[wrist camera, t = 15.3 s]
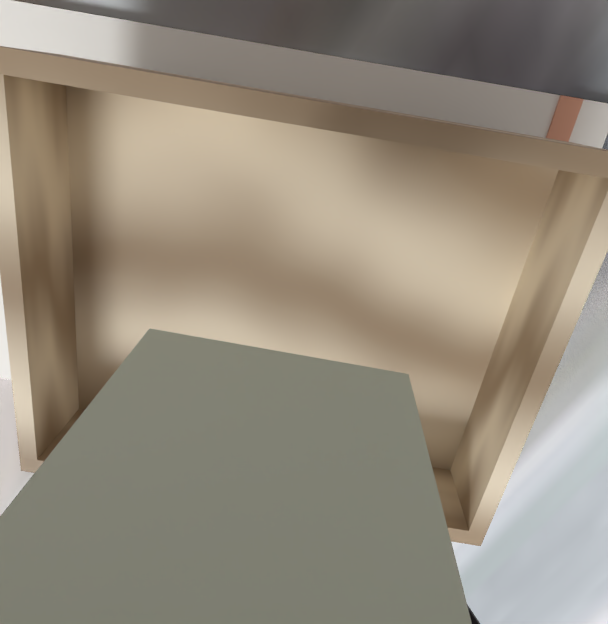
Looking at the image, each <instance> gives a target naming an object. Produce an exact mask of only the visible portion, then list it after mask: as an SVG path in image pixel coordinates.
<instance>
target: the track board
mask: <svg viewBox="0 0 608 624" xmlns="http://www.w3.org/2000/svg"><path fill="white" fill-rule="evenodd" d="M0 46H5V47H12V48H19V49H26V50H33V51H40V52H47V53H54V54H61V55H67V56H73V57H79V58H85V59H91V60H96V61H102V62H108V63H114V64H120V65H125V66H131V67H137V68H143V69H149V70H154V71H160V72H166V73H172V74H178V75H183V76H189V77H195V78H201V79H207V80H212V81H218V82H224V83H230V84H236V85H241V86H247V87H253V88H259V89H265V90H270V91H276V92H282V93H288V94H294V95H299V96H305V97H311V98H317V99H323V100H328V101H334V102H340V103H346V104H352V105H357V106H363V107H369V108H375V109H381V110H387V111H392V112H398V113H404V114H410V115H416V116H421V117H427V118H433V119H439V120H445V121H450V122H456V123H462V124H468V125H474V126H479V127H485V128H491V129H497V130H503V131H508V132H514V133H520V134H526V135H532V136H537V137H543V138H549V139H555V140H561V141H566V142H572V143H577V144H582V145H587V146H592V147H596V148H601V149H602V147H603V144H604V142H605V139H606V137H607V134H608V103H602V102H596V101H591V100H585V99H580V98H575V97H569V96H563V95H556V94H550V93H545V92H539V91H533V90H527V89H521V88H516V87H510V86H504V85H498V84H493V83H487V82H481V81H475V80H469V79H464V78H458V77H452V76H446V75H441V74H435V73H429V72H423V71H417V70H412V69H406V68H400V67H394V66H389V65H383V64H377V63H371V62H366V61H360V60H354V59H348V58H342V57H337V56H331V55H325V54H319V53H314V52H308V51H302V50H296V49H290V48H285V47H279V46H273V45H267V44H262V43H256V42H250V41H244V40H238V39H233V38H227V37H221V36H215V35H210V34H204V33H198V32H192V31H187V30H181V29H175V28H169V27H163V26H158V25H152V24H146V23H140V22H135V21H129V20H123V19H117V18H111V17H106V16H100V15H94V14H88V13H83V12H77V11H71V10H65V9H59V8H54V7H48V6H42V5H36V4H31V3H25V2H19V1H13V0H0ZM0 378H2V379H8V380H11V371H10V361H9V352H8V342H7V333H6V324H5V314H4V305H3V295H2V286H1V276H0Z"/></svg>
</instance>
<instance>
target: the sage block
mask: <svg viewBox="0 0 608 624" xmlns="http://www.w3.org/2000/svg"><path fill="white" fill-rule="evenodd" d="M0 624H472V622H471V618H470V614H469V610H468V607H467V603H466V599H465V595H464V591H463V587H462V583H461V579H460V575H459V571H458V567H457V563H456V559H455V555H454V551H453V547H452V543H451V540H450V536H449V532H448V528H447V524H446V520H445V516H444V512H443V508H442V504H441V500H440V496H439V492H438V488H437V484H436V480H435V476H434V473H433V469H432V465H431V461H430V457H429V453H428V449H427V445H426V441H425V437H424V433H423V429H422V425H421V421H420V417H419V413H418V409H417V406H416V402H415V398H414V394H413V390H412V386H411V382H410V378H409V374H406V373H400V372H394V371H389V370H383V369H377V368H372V367H366V366H360V365H355V364H349V363H343V362H338V361H332V360H326V359H320V358H315V357H309V356H303V355H298V354H292V353H286V352H281V351H275V350H269V349H264V348H258V347H252V346H247V345H241V344H235V343H230V342H224V341H218V340H213V339H207V338H201V337H196V336H190V335H184V334H178V333H173V332H167V331H161V330H156V329H150V328H149V330H148V331H147V332H146V333H145V335H144V336H143V337H142V339H141V340H140V341H139V342H138V344H137V345H136V346H135V347H134V349H133V350H132V351H131V352H130V354H129V355H128V356H127V357H126V359H125V360H124V361H123V362H122V364H121V365H120V366H119V368H118V369H117V370H116V371H115V373H114V374H113V375H112V376H111V378H110V379H109V380H108V381H107V383H106V384H105V385H104V386H103V388H102V389H101V390H100V391H99V393H98V394H97V395H96V397H95V398H94V399H93V400H92V402H91V403H90V404H89V405H88V407H87V408H86V409H85V410H84V412H83V413H82V414H81V415H80V417H79V418H78V419H77V420H76V422H75V423H74V424H73V425H72V427H71V428H70V429H69V431H68V432H67V433H66V434H65V436H64V437H63V438H62V439H61V441H60V442H59V443H58V444H57V446H56V447H55V448H54V449H53V451H52V452H51V453H50V454H49V456H48V457H47V458H46V460H45V461H44V462H43V463H42V465H41V466H40V467H39V468H38V470H37V471H36V472H35V473H34V475H33V476H32V477H31V478H30V480H29V481H28V482H27V483H26V485H25V486H24V487H23V489H22V490H21V491H20V492H19V494H18V495H17V496H16V497H15V499H14V500H13V501H12V502H11V504H10V505H9V506H8V507H7V509H6V510H5V511H4V512H3V514H2V515H1V516H0Z"/></svg>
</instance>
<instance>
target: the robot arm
mask: <svg viewBox="0 0 608 624" xmlns="http://www.w3.org/2000/svg"><path fill="white" fill-rule="evenodd" d="M467 607H468V610H469V614H470V618H471V622H472V624H480V623H479V621H478V620H477V618H476V617H475V615H474V614H473V612H472V611H471V609H470V608H469V606H468V605H467Z"/></svg>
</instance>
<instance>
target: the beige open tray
mask: <svg viewBox="0 0 608 624" xmlns="http://www.w3.org/2000/svg"><path fill="white" fill-rule="evenodd" d="M607 251H608V150H606V149H601V148H596V147H592V146H587V145H582V144H577V143H572V142H566V141H561V140H555V139H549V138H543V137H537V136H532V135H526V134H520V133H514V132H508V131H503V130H497V129H491V128H485V127H479V126H474V125H468V124H462V123H456V122H450V121H445V120H439V119H433V118H427V117H421V116H416V115H410V114H404V113H398V112H392V111H387V110H381V109H375V108H369V107H363V106H357V105H352V104H346V103H340V102H334V101H328V100H323V99H317V98H311V97H305V96H299V95H294V94H288V93H282V92H276V91H270V90H265V89H259V88H253V87H247V86H241V85H236V84H230V83H224V82H218V81H212V80H207V79H201V78H195V77H189V76H183V75H178V74H172V73H166V72H160V71H154V70H149V69H143V68H137V67H131V66H125V65H120V64H114V63H108V62H102V61H96V60H91V59H85V58H79V57H73V56H67V55H61V54H54V53H47V52H40V51H33V50H26V49H19V48H12V47H5V46H0V276H1V286H2V295H3V305H4V314H5V324H6V333H7V342H8V352H9V361H10V371H11V380H12V390H13V399H14V409H15V418H16V427H17V437H18V446H19V456H20V465H21V471H27V472H33V473H35V472H36V471H37V470H38V468H39V467H40V466H41V465H42V463H43V462H44V461H45V460H46V458H47V457H48V456H49V454H50V453H51V452H52V451H53V449H54V448H55V447H56V446H57V444H58V443H59V442H60V441H61V439H62V438H63V437H64V436H65V434H66V433H67V432H68V431H69V429H70V428H71V427H72V425H73V424H74V423H75V422H76V420H77V419H78V418H79V417H80V415H81V414H82V413H83V412H84V410H85V409H86V408H87V407H88V405H89V404H90V403H91V402H92V400H93V399H94V398H95V397H96V395H97V394H98V393H99V391H100V390H101V389H102V388H103V386H104V385H105V384H106V383H107V381H108V380H109V379H110V378H111V376H112V375H113V374H114V373H115V371H116V370H117V369H118V368H119V366H120V365H121V364H122V362H123V361H124V360H125V359H126V357H127V356H128V355H129V354H130V352H131V351H132V350H133V349H134V347H135V346H136V345H137V344H138V342H139V341H140V340H141V339H142V337H143V336H144V335H145V333H146V332H147V331H148V330H149V328H150V329H156V330H161V331H167V332H173V333H178V334H184V335H190V336H196V337H201V338H207V339H213V340H218V341H224V342H230V343H235V344H241V345H247V346H252V347H258V348H264V349H269V350H275V351H281V352H286V353H292V354H298V355H303V356H309V357H315V358H320V359H326V360H332V361H338V362H343V363H349V364H355V365H360V366H366V367H372V368H377V369H383V370H389V371H394V372H400V373H406V374H409V378H410V382H411V386H412V390H413V394H414V398H415V402H416V406H417V409H418V413H419V417H420V421H421V425H422V429H423V433H424V437H425V441H426V445H427V449H428V453H429V457H430V461H431V465H432V469H433V473H434V476H435V480H436V484H437V488H438V492H439V496H440V500H441V504H442V508H443V512H444V516H445V520H446V524H447V528H448V532H449V536H450V540H451V541H453V542H459V543H465V544H471V545H477V546H481V544H482V542H483V539H484V537H485V535H486V532H487V530H488V528H489V525H490V523H491V521H492V518H493V516H494V514H495V512H496V509H497V507H498V505H499V502H500V500H501V498H502V495H503V493H504V491H505V488H506V486H507V484H508V481H509V479H510V477H511V474H512V472H513V470H514V467H515V465H516V463H517V460H518V458H519V456H520V453H521V451H522V449H523V446H524V444H525V442H526V439H527V437H528V435H529V432H530V430H531V428H532V425H533V423H534V421H535V418H536V416H537V414H538V412H539V409H540V407H541V405H542V402H543V400H544V398H545V395H546V393H547V391H548V388H549V386H550V384H551V381H552V379H553V377H554V374H555V372H556V370H557V367H558V365H559V363H560V360H561V358H562V356H563V353H564V351H565V349H566V346H567V344H568V342H569V339H570V337H571V335H572V332H573V330H574V328H575V325H576V323H577V321H578V319H579V316H580V314H581V312H582V309H583V307H584V305H585V302H586V300H587V298H588V295H589V293H590V291H591V288H592V286H593V284H594V281H595V279H596V277H597V274H598V272H599V270H600V267H601V265H602V263H603V260H604V258H605V256H606V253H607Z"/></svg>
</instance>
